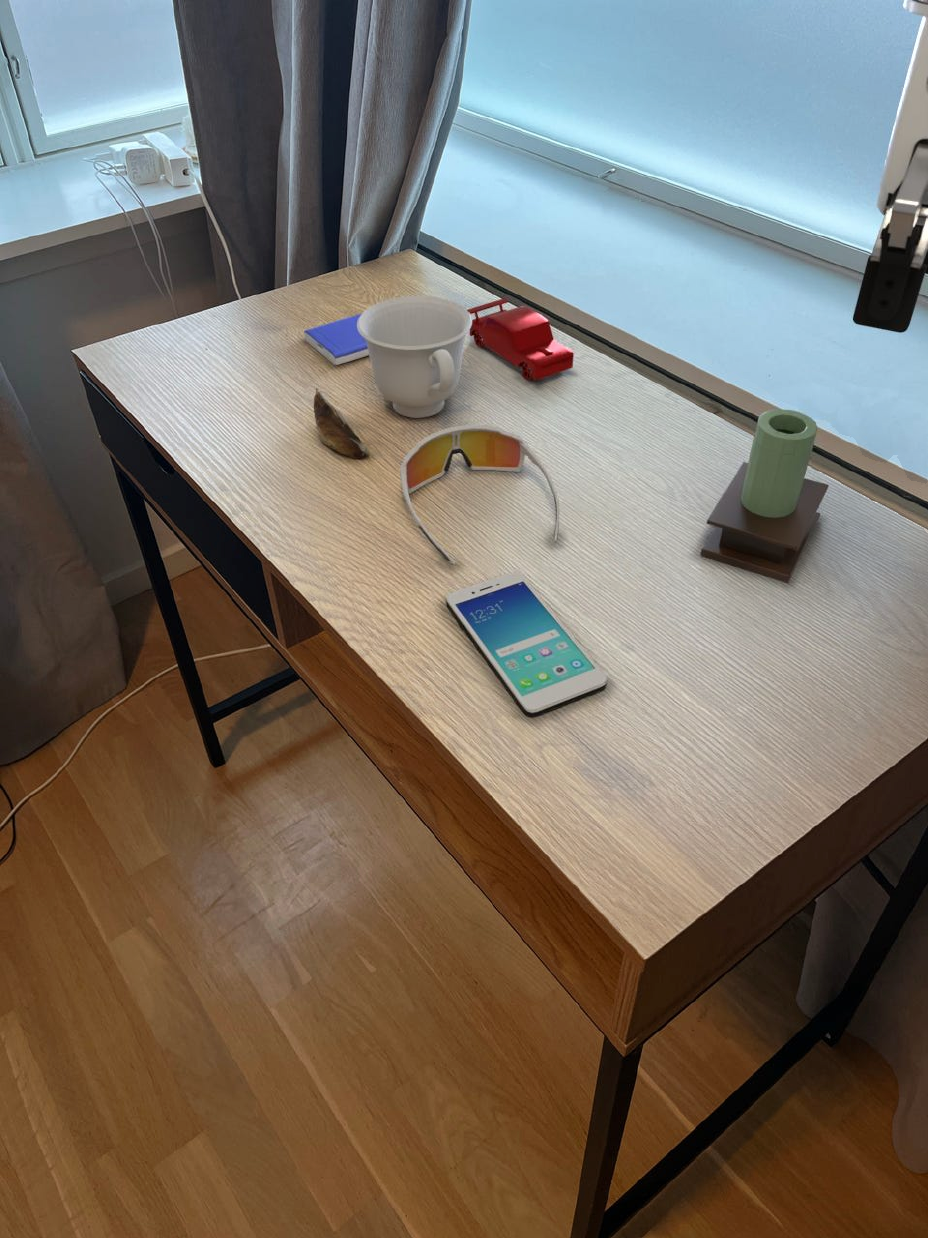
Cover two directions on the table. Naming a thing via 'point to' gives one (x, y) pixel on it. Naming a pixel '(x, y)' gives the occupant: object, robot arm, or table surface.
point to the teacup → (415, 350)
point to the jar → (778, 462)
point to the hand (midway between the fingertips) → (896, 296)
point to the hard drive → (338, 340)
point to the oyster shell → (336, 429)
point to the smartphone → (525, 644)
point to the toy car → (521, 340)
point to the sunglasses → (479, 452)
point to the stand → (762, 531)
